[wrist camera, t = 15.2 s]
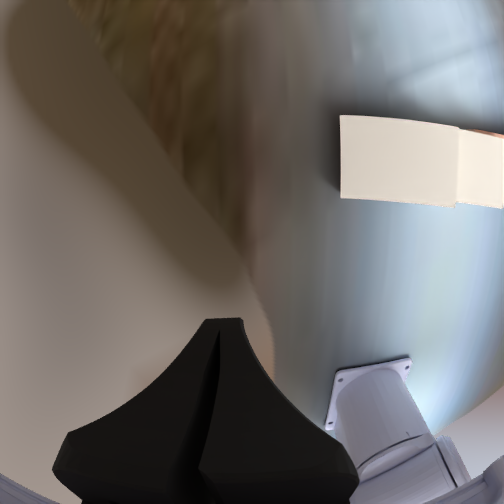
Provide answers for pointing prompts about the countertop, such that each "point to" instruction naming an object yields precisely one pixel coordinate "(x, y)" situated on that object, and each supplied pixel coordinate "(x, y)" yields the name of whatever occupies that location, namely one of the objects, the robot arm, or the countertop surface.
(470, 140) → the domino
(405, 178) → the domino
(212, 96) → the countertop surface
